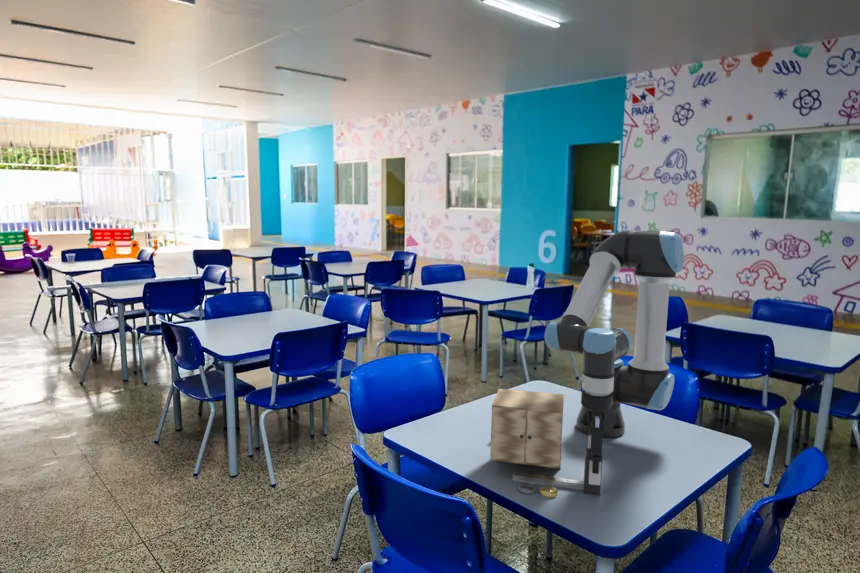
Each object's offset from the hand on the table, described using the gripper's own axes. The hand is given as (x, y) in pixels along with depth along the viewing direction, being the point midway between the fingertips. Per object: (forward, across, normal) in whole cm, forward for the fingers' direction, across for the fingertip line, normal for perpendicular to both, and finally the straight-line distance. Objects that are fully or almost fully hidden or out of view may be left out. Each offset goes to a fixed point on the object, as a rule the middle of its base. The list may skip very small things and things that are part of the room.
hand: (593, 471), depth 142 cm
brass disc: (+5, +6, -11) cm, 13 cm away
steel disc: (+5, +6, -16) cm, 18 cm away
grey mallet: (+5, +1, -9) cm, 10 cm away
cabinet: (+5, -6, -17) cm, 19 cm away
